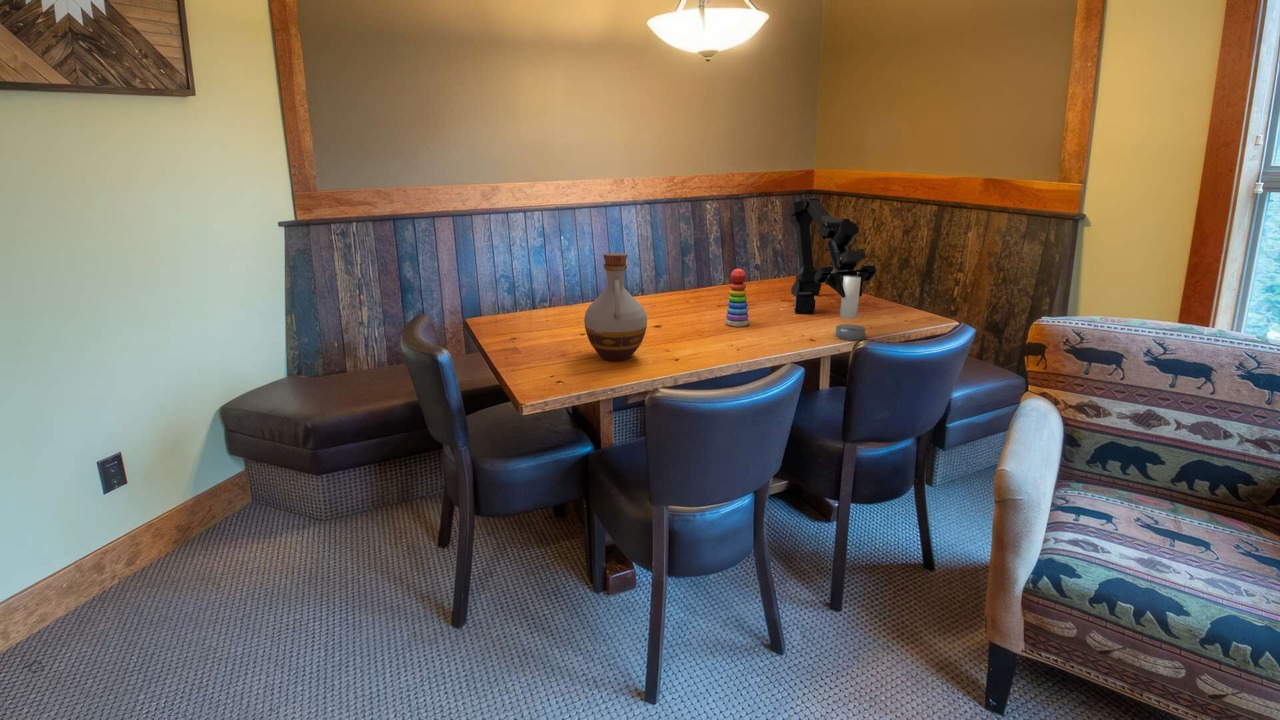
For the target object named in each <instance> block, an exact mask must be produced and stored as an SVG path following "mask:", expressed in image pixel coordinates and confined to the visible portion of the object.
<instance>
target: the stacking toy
mask: <svg viewBox="0 0 1280 720" xmlns="http://www.w3.org/2000/svg"><path fill="white" fill-rule="evenodd" d="M730 279H731V281H732V283H731V284H730V287H729V288H730V290H729V293H728V294H729V296H728V301H727V305H728V306H727V309H726V312H727V313H726V314H725V317H726V318H725V322H724V323H725V324H726V325H727V326H731V327H735V328H736V327H739V328H741V327H746V326H748V325H749V324H750V320H749V313H748V312H749V308H748V304H749V303H748V301H747V300H748V297H747V291H746V287H747V286H746V283H744V282H745V281H746V279H747V274H746V272H745V271H744V269H742V268H736V269H734V270H732V271H731V273H730Z"/></svg>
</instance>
